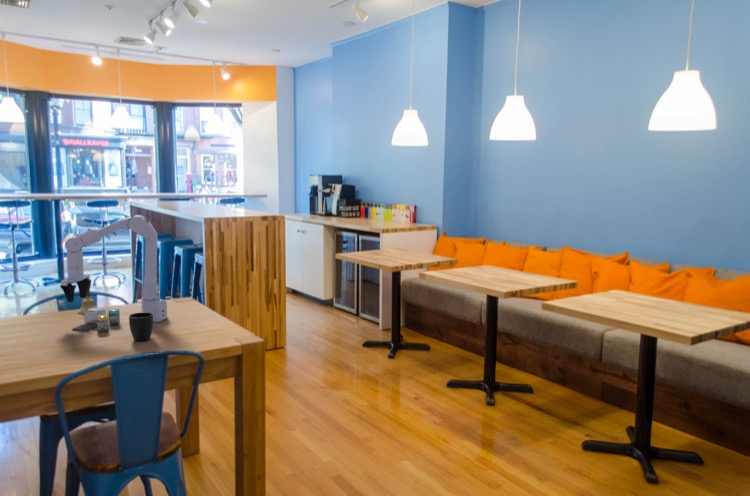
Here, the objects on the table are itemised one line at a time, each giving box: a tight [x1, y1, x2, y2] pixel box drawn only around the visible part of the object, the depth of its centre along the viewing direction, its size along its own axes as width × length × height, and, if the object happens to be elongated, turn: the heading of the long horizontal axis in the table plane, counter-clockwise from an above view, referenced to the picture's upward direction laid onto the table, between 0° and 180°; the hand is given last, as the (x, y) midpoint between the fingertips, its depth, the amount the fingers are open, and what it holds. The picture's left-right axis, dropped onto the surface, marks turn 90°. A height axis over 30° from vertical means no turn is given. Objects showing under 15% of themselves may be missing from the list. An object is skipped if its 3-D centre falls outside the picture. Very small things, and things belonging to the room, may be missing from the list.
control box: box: [83, 307, 107, 325], centre depth 224 cm, size 6×5×6 cm
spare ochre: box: [96, 314, 110, 334], centre depth 215 cm, size 4×4×6 cm
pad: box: [72, 323, 97, 332], centre depth 218 cm, size 6×6×1 cm
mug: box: [128, 311, 154, 343], centre depth 207 cm, size 8×12×10 cm
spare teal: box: [107, 308, 121, 327], centre depth 224 cm, size 4×4×6 cm
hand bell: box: [77, 279, 97, 315], centre depth 242 cm, size 8×8×16 cm
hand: (76, 299), depth 224 cm, fingers open, 7 cm apart
